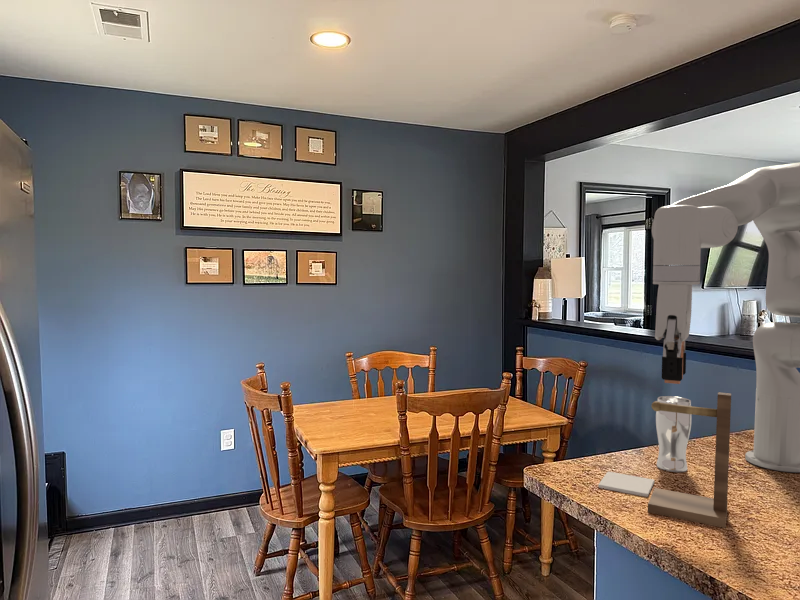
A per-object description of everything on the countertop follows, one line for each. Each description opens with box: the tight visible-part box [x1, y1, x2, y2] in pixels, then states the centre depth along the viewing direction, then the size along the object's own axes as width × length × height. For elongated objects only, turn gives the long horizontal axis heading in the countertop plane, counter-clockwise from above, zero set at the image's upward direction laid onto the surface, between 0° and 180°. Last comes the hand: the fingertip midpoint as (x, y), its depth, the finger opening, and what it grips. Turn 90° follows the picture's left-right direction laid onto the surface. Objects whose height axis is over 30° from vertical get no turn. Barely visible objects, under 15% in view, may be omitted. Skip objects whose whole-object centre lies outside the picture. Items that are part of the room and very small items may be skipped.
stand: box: [647, 391, 732, 529], centre depth 103 cm, size 9×12×22 cm
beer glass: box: [655, 395, 692, 473], centre depth 126 cm, size 7×7×15 cm
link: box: [664, 337, 684, 385], centre depth 104 cm, size 6×2×8 cm, turn 149°
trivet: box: [597, 471, 655, 498], centre depth 115 cm, size 9×9×1 cm
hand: (673, 375), depth 104 cm, fingers closed on link, 6 cm apart
